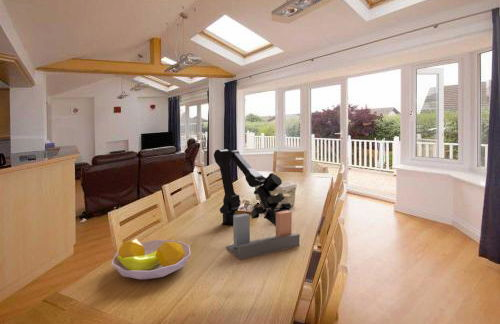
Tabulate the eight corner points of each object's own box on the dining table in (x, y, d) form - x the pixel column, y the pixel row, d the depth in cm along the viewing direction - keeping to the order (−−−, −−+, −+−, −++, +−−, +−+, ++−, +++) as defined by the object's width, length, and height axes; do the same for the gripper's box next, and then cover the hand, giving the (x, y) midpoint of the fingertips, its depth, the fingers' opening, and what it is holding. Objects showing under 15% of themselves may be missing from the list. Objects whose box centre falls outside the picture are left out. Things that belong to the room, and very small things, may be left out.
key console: (226, 247, 123) (226, 236, 123) (282, 236, 136) (282, 225, 136) (239, 259, 112) (239, 247, 111) (299, 245, 125) (299, 234, 124)
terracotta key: (275, 241, 126) (275, 212, 125) (286, 238, 129) (286, 210, 128) (279, 244, 123) (279, 214, 122) (291, 241, 126) (291, 212, 125)
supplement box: (291, 217, 165) (291, 194, 163) (287, 219, 161) (287, 196, 159) (278, 215, 169) (278, 192, 168) (274, 217, 165) (274, 194, 164)
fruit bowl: (162, 248, 124) (161, 222, 122) (206, 266, 107) (205, 236, 105) (93, 274, 102) (90, 242, 101) (134, 302, 85) (132, 265, 84)
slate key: (233, 245, 122) (232, 215, 121) (246, 242, 125) (245, 213, 124) (236, 248, 119) (236, 217, 118) (249, 245, 122) (249, 215, 121)
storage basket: (253, 204, 195) (253, 182, 193) (268, 199, 207) (268, 178, 205) (283, 210, 179) (283, 186, 177) (297, 205, 191) (297, 182, 189)
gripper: (253, 189, 127) (266, 221, 119) (289, 185, 136) (304, 214, 127) (245, 203, 135) (257, 234, 126) (280, 198, 143) (293, 227, 135)
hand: (278, 227), depth 129 cm, fingers closed
